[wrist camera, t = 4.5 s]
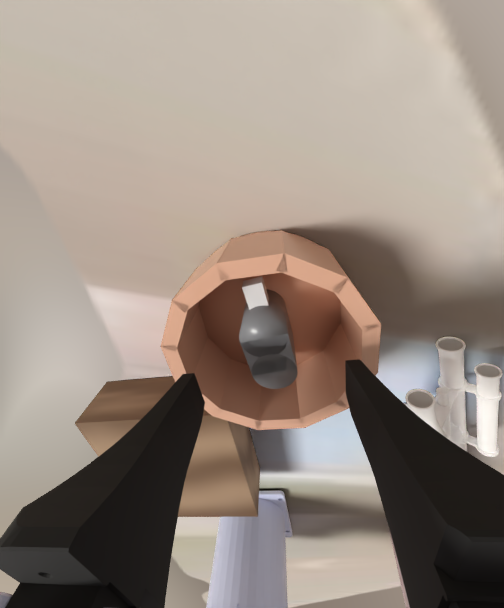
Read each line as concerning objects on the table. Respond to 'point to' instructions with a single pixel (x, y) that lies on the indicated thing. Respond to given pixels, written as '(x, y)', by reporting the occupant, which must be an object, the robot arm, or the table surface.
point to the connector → (267, 336)
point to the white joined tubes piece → (460, 399)
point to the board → (206, 455)
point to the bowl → (303, 319)
